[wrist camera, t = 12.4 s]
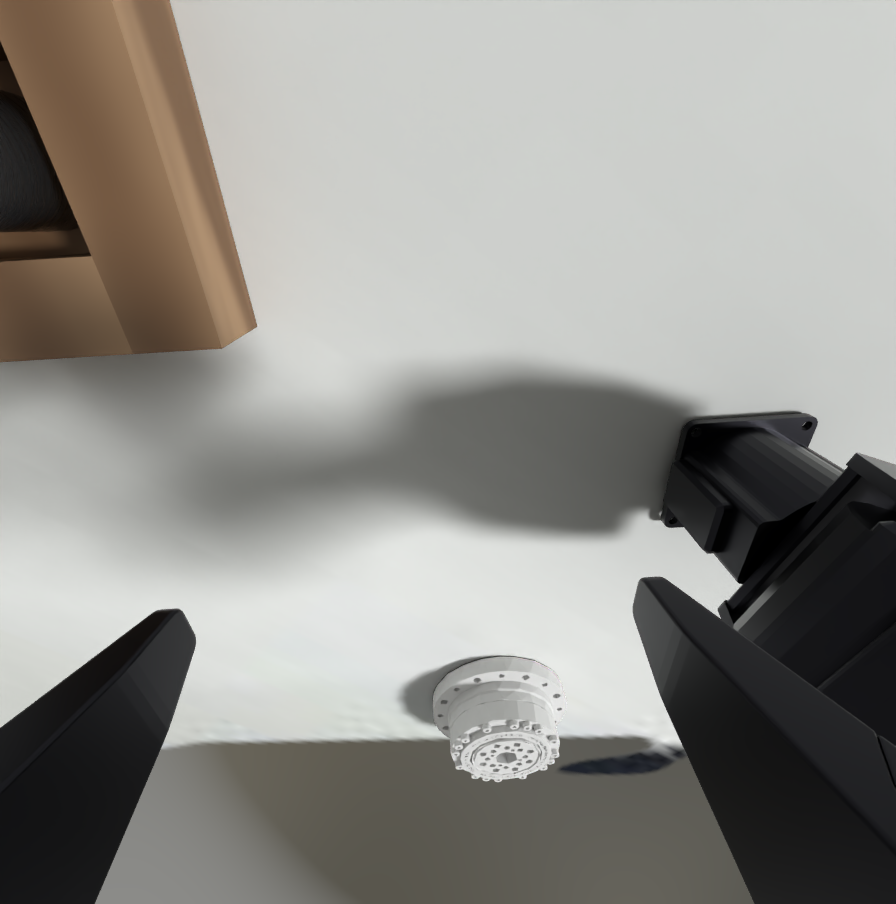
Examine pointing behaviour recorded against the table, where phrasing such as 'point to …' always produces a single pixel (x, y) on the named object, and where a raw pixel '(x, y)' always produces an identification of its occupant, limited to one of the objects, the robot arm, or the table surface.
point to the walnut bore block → (116, 190)
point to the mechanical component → (501, 716)
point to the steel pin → (28, 175)
